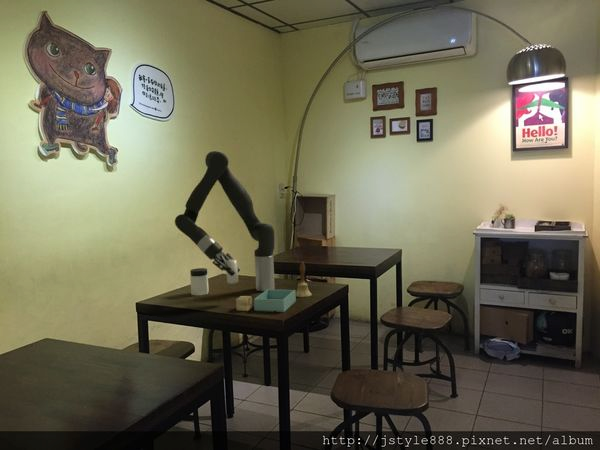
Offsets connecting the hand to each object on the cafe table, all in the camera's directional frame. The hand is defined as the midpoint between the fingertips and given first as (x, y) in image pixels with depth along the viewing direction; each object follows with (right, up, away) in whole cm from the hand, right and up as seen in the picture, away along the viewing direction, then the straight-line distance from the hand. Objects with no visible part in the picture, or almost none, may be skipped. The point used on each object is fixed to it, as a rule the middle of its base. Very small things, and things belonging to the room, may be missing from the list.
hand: (236, 273), depth 213 cm
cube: (+5, -15, -10) cm, 18 cm away
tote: (+18, -14, -7) cm, 24 cm away
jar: (-21, -13, +21) cm, 32 cm away
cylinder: (-2, -4, +1) cm, 5 cm away
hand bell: (+30, -12, +10) cm, 34 cm away
